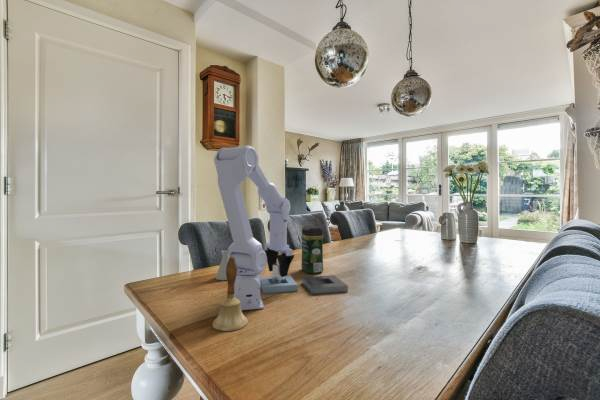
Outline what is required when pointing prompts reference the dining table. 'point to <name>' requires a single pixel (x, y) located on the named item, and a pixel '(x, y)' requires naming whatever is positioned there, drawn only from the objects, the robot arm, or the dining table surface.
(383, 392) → the dining table surface
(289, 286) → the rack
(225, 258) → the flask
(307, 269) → the coffee jar
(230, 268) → the hand bell
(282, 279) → the steel peg
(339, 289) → the socket block
